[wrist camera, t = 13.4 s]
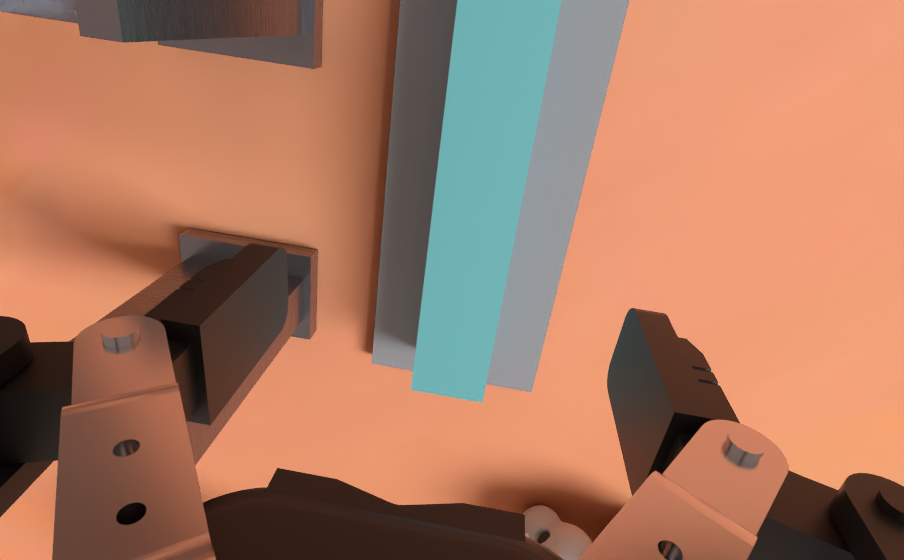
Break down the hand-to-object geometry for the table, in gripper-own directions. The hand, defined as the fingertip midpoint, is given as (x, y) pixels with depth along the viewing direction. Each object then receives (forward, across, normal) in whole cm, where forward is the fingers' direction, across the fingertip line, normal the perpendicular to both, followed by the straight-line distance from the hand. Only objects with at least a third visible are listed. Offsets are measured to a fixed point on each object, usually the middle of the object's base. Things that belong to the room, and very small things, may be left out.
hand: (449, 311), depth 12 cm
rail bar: (+13, 0, 0) cm, 13 cm away
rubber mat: (+14, 0, 0) cm, 14 cm away
